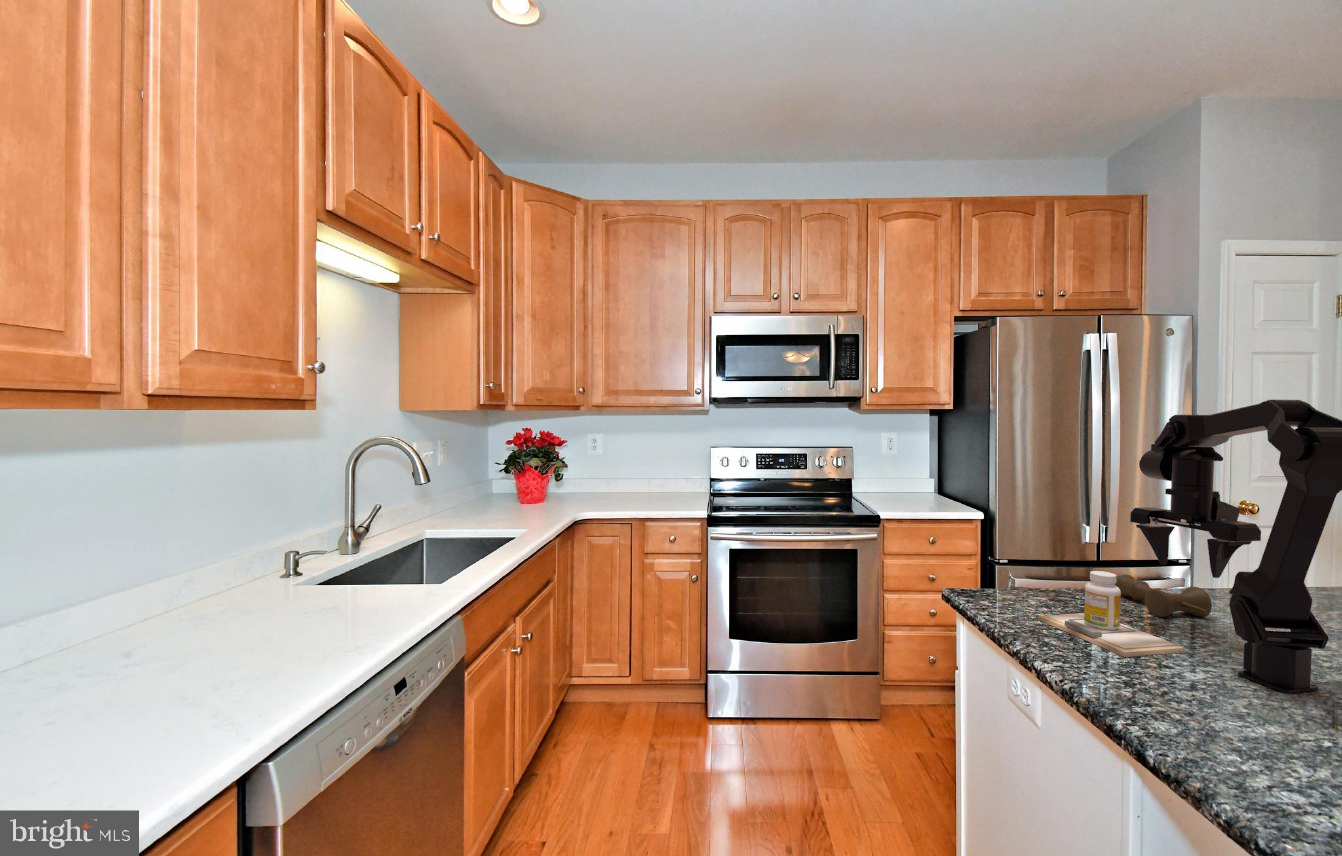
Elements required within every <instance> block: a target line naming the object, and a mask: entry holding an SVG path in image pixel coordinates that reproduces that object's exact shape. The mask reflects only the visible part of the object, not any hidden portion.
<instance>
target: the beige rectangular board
mask: <svg viewBox="0 0 1342 856" xmlns="http://www.w3.org/2000/svg"><path fill="white" fill-rule="evenodd" d="M1038 621H1040V622H1042V623H1045V624H1047V625H1050V626H1052V627H1054V628H1057V629H1058V630H1060V631H1064V632H1066V633H1068V634H1070V635H1072V636H1075V637H1077V638H1079V639H1082V640H1084V641H1086V642H1089V643H1091V644H1094V645H1096V646H1098V647H1101V648H1103V649H1105V650H1108V651H1110V652H1112V653H1114V654H1116V655H1119V656H1121V657H1124V658H1128V657H1129V658H1131V657H1142V656H1143V657H1144V656H1154V655H1166V654H1167V655H1169V654H1181V653H1185V647H1183V646H1180V645H1178V644H1176V643H1173V642H1171V641H1168V640H1165V639H1163V638H1160V637H1157V636H1155V635H1152V634H1149V633H1148V632H1144V631H1142V630H1139V629H1136V628H1133V627H1131V626H1128V625H1125V624H1123V623H1121V622H1120V627H1119V629H1117V630H1103V629H1098V628H1094V627H1091V626H1089V625H1087V624H1086V623H1085V622H1084V612H1083V613H1082V612H1081V613H1067V614H1065V613H1063V614H1051V615H1050V614H1049V615H1046V614H1045V615H1039V616H1038Z"/></svg>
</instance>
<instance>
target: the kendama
mask: <svg viewBox="0 0 1342 856" xmlns="http://www.w3.org/2000/svg"><path fill="white" fill-rule="evenodd" d="M1115 586H1117V587H1118V588H1119V589H1120V591H1121V598H1122V597H1124V598H1128V597H1131V598H1132V599H1133V600H1135V601H1140V602H1141V601H1144V602H1145V607H1146V609H1147V611H1148V612H1149V613H1150V614H1151V615H1153V614H1154V615H1153V616H1156V617H1158V616H1159V617H1158V618H1163V619H1164V618H1166V617H1168V616H1170V615H1172V613H1174V612H1185V613H1188V614H1190V615H1192V616H1194V617H1197V616H1198V618H1202V619H1203V618H1206V617H1209V615H1210V614H1211V612H1212V608H1213V606H1212V599H1211V598H1210V596H1209V593H1208V592H1206V590H1205V589H1203V588H1201V587H1197V586H1189V587H1185V588H1184V589H1183V591H1182V592H1181V593H1169V592H1166V591H1164V590H1161V589H1157V588H1152V587H1150V584H1149V583H1148V582H1146V581H1145V580H1144V581H1143V580H1136V579H1135V578H1134V576H1131V575H1128V574H1120V575H1117V582H1116V583H1115Z"/></svg>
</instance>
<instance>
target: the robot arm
mask: <svg viewBox="0 0 1342 856" xmlns="http://www.w3.org/2000/svg"><path fill="white" fill-rule="evenodd" d="M1294 427H1296V428H1295V429H1294ZM1263 431H1267V441H1268V443H1269V444H1271V445H1272V447H1274V448H1275V449H1276V450H1278V452H1279V453H1280V454H1279V461H1278V466H1279V467H1280V470H1281V471H1282V474H1283V476H1284V478H1285V480H1286V487H1285V489H1284V492H1283V495H1282V498H1281V502H1280V503H1279V507H1278V510H1277V511H1276V516H1275V518H1274V521H1273V525H1272V528H1271V530H1270V532H1269V536H1268V538H1267V542H1266V545H1265V548H1264V551H1263V552H1262V557H1261V559H1260V563H1259V565H1258V567H1257V568H1256V569H1255V570H1253V571H1238V572H1237V573H1236V575H1235V576H1234V581H1233V585H1232V587H1231V589H1230V590H1229V591H1228V593H1229V595H1230V596H1231V597H1229V598H1230V599H1229V605H1228V606H1229V610H1230V615H1231V618H1232V623H1233V628H1234V633H1235V635H1236V636H1238V637H1240V638H1241V640H1242V641H1245V643H1243V658H1242V659H1243V661H1242V668H1243V670H1238V671H1237V675H1238V676H1240V677H1243V678H1245V679H1249V680H1250V681H1254V682H1256V683H1258V684H1261V685H1264V686H1265V687H1269V688H1271V689H1274V690H1277V691H1279V692H1282V693H1285V694H1291V693H1301V692H1302V693H1303V692H1313V691H1319V690H1320V689H1319V687H1320V686H1318V685H1316V684H1313V683H1311V681H1312V679H1311V678H1312V676H1311V675H1312V658H1313V657H1312V656H1313V655H1312V654H1313V650H1312V649H1318V650H1324V649H1326V646H1327V643H1328V641H1329V638H1330V637H1329V636H1328V635H1327V633H1326V631H1325V630H1324V628H1323V627H1322V626H1321V624H1320V623H1319V620H1318V619H1317V618H1316V617H1315V615H1314V614H1313V612H1312V605H1313V598H1312V596H1311V593H1310V592H1309V589H1308V587H1307V585H1306V583H1305V581H1306V577H1307V574H1308V571H1309V569H1310V567H1311V563H1312V561H1313V558H1314V556H1315V554H1316V550H1317V547H1318V545H1319V542H1320V540H1321V537H1322V534H1323V531H1324V528H1325V526H1326V524H1327V521H1328V519H1329V515H1330V514H1331V510H1332V509H1333V504H1334V503H1335V500H1336V498H1337V495H1338V494H1339V493H1341V491H1342V419H1339V418H1337V417H1335V416H1332V415H1330V414H1327V413H1325V412H1323V411H1320V410H1318V409H1316V408H1315V407H1314V406H1312V405H1311V404H1310V403H1308V402H1306V401H1303V400H1301V399H1268V400H1264V401H1262V402H1260V403H1257V404H1252V405H1248V406H1244V407H1243V406H1242V407H1239V408H1234V409H1230V410H1225V411H1221V412H1217V413H1212V414H1174V415H1172V416H1171V417H1170V418H1168V422H1166V423H1165V424H1164V427H1163V429H1162V430H1161V432H1160V434H1159V436H1158V437H1157V438H1156V440H1154V443H1152V444H1151V445H1150V450H1148V451H1145V453H1144V454H1143V455H1142V456H1141V458H1140V460H1139V461H1138V465H1139V469H1140V472H1141V473H1142V474H1143V475H1144V476H1145V477H1147V478H1150V479H1156V480H1161V481H1168V482H1171V488H1165V490H1164V491H1165V495H1170V509H1166V508H1159V507H1153V506H1152V507H1150V506H1149V507H1134V508H1133V509H1132V511H1130V514H1129V515H1130V517H1129V518H1130V519H1129V521H1130V523H1135V524H1136V525H1135V527H1136V528H1137V529H1140V531H1141V533H1142V534H1143V535H1144V537H1145V539H1146V540H1147V542H1148V543H1149V545H1150V547H1151V549H1152V551H1153V552H1154V554H1155V556H1156V558H1157V560H1158V562H1159V564H1160V565H1163V566H1164V565H1168V562H1169V561H1168V560H1169V551H1170V550H1169V548H1170V535H1171V534H1172V533H1173V531H1174V530H1175V528H1176V527H1175V526H1177V527H1181V528H1188V529H1192V530H1193V529H1194V530H1198V531H1202V532H1203V531H1204V532H1208V533H1209V535H1210V536H1211V537H1212V538H1207V539H1206V541H1207V542H1206V543H1207V550H1208V558H1209V566H1210V573H1211V576H1212V578H1215V579H1219V578H1221V576H1222V574H1223V572H1224V570H1225V569H1226V567H1227V565H1228V563H1229V561H1230V560H1231V558H1232V557H1233V556H1234V554H1235V553H1236V551H1237V550H1238V549H1239V548H1241V547H1242V546H1245V545H1246V546H1247V545H1251V544H1252V542H1261V541H1262V530H1261V529H1260V527H1259V526H1258V525H1257V523H1252V522H1247V521H1246V522H1245V521H1241V520H1238V519H1239V516H1240V512H1241V511H1242V510H1241V508H1239V507H1237V506H1235V505H1232V504H1229V503H1228V502H1225V501H1223V500H1221V494H1220V491H1216V490H1214V472H1215V462H1223V460H1224V457H1223V456H1222V455H1221V454H1220V453H1218V452H1217V451H1216V450H1215V447H1218V446H1220V445H1222V444H1225V443H1227V442H1228V441H1229V440H1230V438H1232V437H1236V436H1239V435H1240V436H1241V435H1246V434H1251V433H1257V432H1263ZM1182 520H1184V521H1182ZM1267 629H1275V630H1267ZM1277 629H1278V630H1277ZM1280 630H1281V631H1280ZM1282 630H1284V631H1282ZM1285 630H1290V631H1285Z"/></svg>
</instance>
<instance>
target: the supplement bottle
mask: <svg viewBox="0 0 1342 856" xmlns="http://www.w3.org/2000/svg"><path fill="white" fill-rule="evenodd" d="M1117 577H1118V575H1117V574H1115V573H1112V572H1108V571H1102V570H1101V571H1100V570H1092V571H1090V572H1089V580H1090V582H1087V583H1086V584H1085V586H1084V606H1083V607H1084V611H1083V613H1084V622H1085V623H1086V624H1087V625H1089V626H1091V627H1094V628H1098V629H1103V630H1117V629H1119V627H1120V623H1121V601H1122V600H1121V599H1122V597H1121V591H1120V589H1119V588H1118V587H1117V586H1115V583H1116V582H1117Z"/></svg>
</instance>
